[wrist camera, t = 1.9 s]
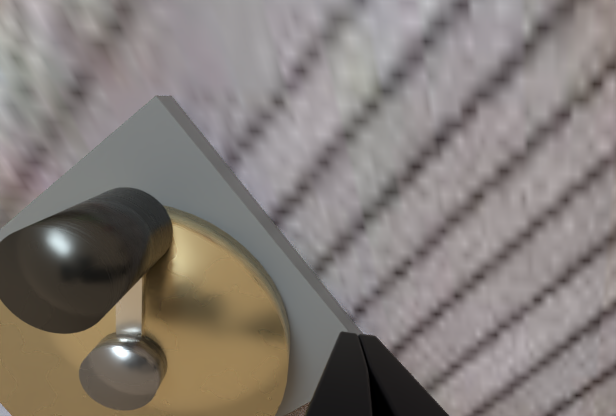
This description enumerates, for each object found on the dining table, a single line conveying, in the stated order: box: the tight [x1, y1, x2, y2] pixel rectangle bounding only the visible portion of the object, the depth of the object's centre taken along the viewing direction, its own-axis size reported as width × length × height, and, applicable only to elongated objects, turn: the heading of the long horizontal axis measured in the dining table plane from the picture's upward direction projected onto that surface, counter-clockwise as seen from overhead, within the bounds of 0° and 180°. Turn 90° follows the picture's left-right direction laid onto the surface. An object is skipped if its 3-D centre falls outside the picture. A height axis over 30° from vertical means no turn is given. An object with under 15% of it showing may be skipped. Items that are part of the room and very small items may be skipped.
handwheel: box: [0, 187, 290, 416], centre depth 13 cm, size 13×13×6 cm
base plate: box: [0, 96, 363, 416], centre depth 17 cm, size 15×15×2 cm
